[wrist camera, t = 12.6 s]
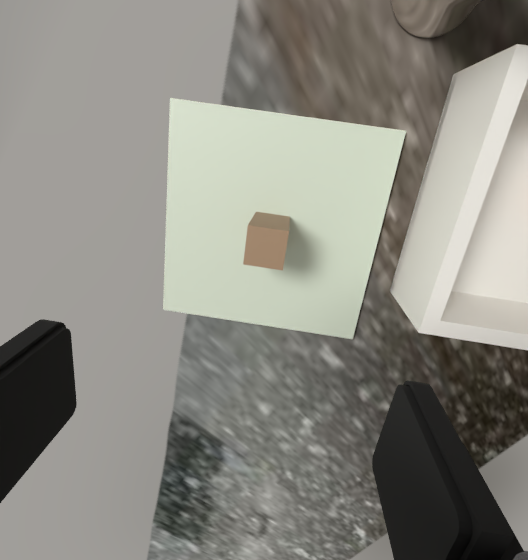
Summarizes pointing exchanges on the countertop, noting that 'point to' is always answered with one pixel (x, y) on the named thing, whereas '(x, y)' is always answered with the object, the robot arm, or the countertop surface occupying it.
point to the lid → (273, 215)
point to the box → (473, 212)
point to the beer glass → (431, 15)
